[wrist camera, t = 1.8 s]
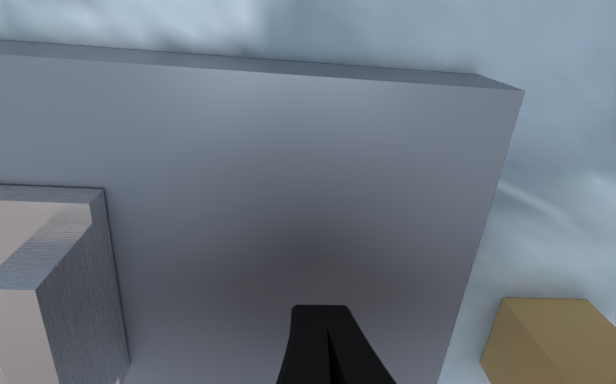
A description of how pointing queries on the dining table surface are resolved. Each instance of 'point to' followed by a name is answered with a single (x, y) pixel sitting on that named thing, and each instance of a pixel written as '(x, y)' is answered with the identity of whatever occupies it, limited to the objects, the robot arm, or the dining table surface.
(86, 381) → the panel
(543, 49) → the dining table surface
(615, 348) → the plug
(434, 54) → the dining table surface
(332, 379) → the robot arm
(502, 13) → the dining table surface
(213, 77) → the socket plate
